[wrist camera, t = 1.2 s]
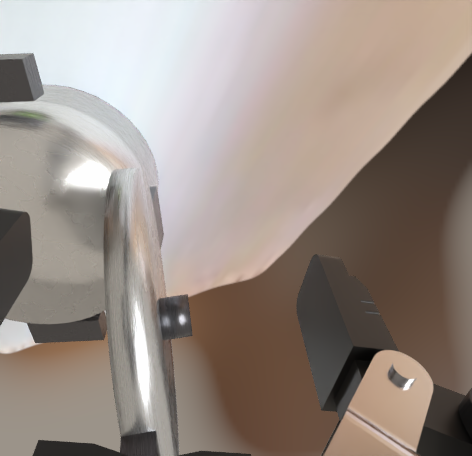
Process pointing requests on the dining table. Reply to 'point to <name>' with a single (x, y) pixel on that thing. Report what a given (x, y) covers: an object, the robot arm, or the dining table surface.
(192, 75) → the dining table surface
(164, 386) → the cooker lid
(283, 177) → the dining table surface
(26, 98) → the cooker pot
